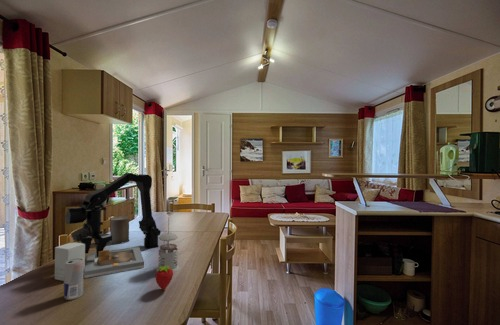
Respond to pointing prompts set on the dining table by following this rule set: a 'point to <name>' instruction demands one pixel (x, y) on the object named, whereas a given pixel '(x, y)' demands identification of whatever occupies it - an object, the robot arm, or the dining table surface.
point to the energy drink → (73, 279)
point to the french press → (168, 257)
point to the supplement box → (67, 257)
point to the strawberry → (164, 276)
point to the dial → (113, 257)
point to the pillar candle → (120, 229)
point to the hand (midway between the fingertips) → (92, 254)
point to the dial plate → (96, 270)
